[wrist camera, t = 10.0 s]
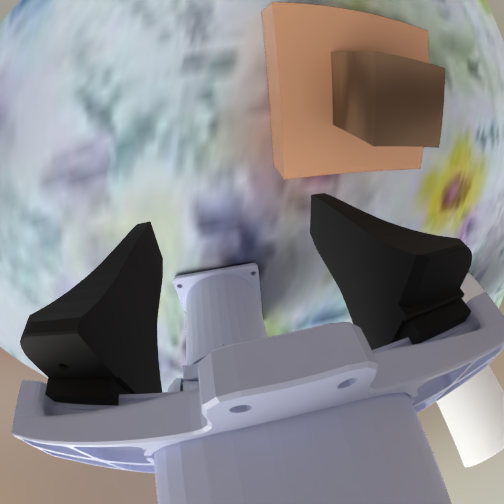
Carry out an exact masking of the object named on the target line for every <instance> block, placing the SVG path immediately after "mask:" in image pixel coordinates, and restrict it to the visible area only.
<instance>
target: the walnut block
mask: <svg viewBox="0 0 504 504" xmlns="http://www.w3.org/2000/svg"><path fill="white" fill-rule="evenodd" d="M331 69H332V98H333V125H334V126H336V127H338V128H340V129H342V130H344V131H346V132H348V133H350V134H352V135H354V136H356V137H357V138H359V139H361V140H363V141H365V142H367V143H368V144H370V145H372V146H374V147H377V146H408V147H438V148H439V143H440V136H441V127H442V117H443V105H444V85H445V68H443V67H440V66H436V65H433V64H429V63H426V62H422V61H418V60H415V59H411V58H406V57H402V56H397V55H393V54H388V53H382V52H377V51H348V52H331Z"/></svg>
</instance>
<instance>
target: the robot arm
mask: <svg viewBox="0 0 504 504" xmlns="http://www.w3.org/2000/svg"><path fill="white" fill-rule="evenodd" d="M310 234H311V236H312V239H313V241H314V244H315V246H316V248H317V250H318V252H319V254H320V256H321V257H322V259H323V261H324V262H325V264H326V266H327V268H328V269H329V271H330V273H331V274H332V276H333V278H334V280H335V281H336V283H337V285H338V287H339V289H340V291H341V293H342V295H343V298H344V300H345V303H346V305H347V308H348V310H349V313H350V316H351V318H352V321H353V324H352V323H350V322H340V323H329V324H325V325H321V326H317V327H312V328H308V329H304V330H300V331H295V332H291V333H286V334H281V335H277V336H272V337H268V336H267V332H266V328H265V325H264V321H263V314H262V303H261V292H260V281H259V271H258V266H257V264H256V263H249V264H243V265H238V266H232V267H226V268H220V269H215V270H209V271H203V272H197V273H191V274H185V275H179V276H175V277H174V279H173V283H174V286H175V288H176V291H177V294H178V296H179V299H180V301H181V304H182V306H183V309H184V312H185V314H186V356H187V365H186V366H183V377H184V380H183V378H176V379H175V380H174V381H173V383H172V384H171V385H170V387H169V389H168V392H165V393H162V387H161V380H160V371H159V361H158V345H157V317H158V309H159V300H160V293H161V285H162V277H163V258H162V255H161V252H160V249H159V246H158V243H157V240H156V237H155V234H154V231H153V228H152V225H151V222H146V223H141V224H137V225H136V226H135V227H134V228H133V229H132V230H131V231H130V232H129V233H128V234H127V236H126V237H125V238H124V239H123V240H122V241H121V242H120V243H119V245H118V246H117V247H116V248H115V249H114V250H113V251H112V252H111V253H110V254H109V255H108V256H107V257H106V259H105V260H104V261H103V262H102V263H101V264H100V265H99V266H98V267H97V268H96V269H95V270H94V271H92V272H91V273H90V274H89V275H88V276H87V277H86V278H85V279H83V280H82V281H81V282H80V283H78V284H77V285H76V286H75V287H73V288H72V289H71V290H70V291H68V292H67V293H66V294H64V295H63V296H61V297H60V298H58V299H57V300H55V301H54V302H52V303H51V304H49V305H47V306H46V307H44V308H42V309H40V310H39V311H37V312H35V313H33V314H32V315H30V316H29V318H28V321H27V324H26V326H25V329H24V332H23V334H22V337H21V340H20V344H21V347H22V349H23V351H24V353H25V355H26V356H27V357H28V358H29V359H30V360H31V361H32V362H33V363H34V364H35V365H36V366H37V367H38V368H39V369H40V370H41V371H42V372H43V373H44V374H46V375H47V376H48V377H49V378H48V383H47V384H46V383H43V382H40V381H31V380H22V382H21V386H20V390H19V395H18V399H17V405H16V409H15V415H14V421H13V427H12V434H13V436H15V437H17V438H19V439H21V440H22V441H24V442H26V443H28V444H30V445H32V446H34V447H35V448H38V449H40V450H42V451H44V452H46V453H48V454H50V455H52V456H56V457H60V458H64V459H68V460H73V461H77V462H82V463H87V464H92V465H97V466H103V467H108V468H114V469H121V470H128V471H137V472H147V473H155V478H156V489H157V499H158V504H451V502H450V498H449V495H448V492H447V489H446V486H445V484H444V481H443V478H442V475H441V472H440V470H439V467H438V464H437V462H436V459H435V456H434V454H433V451H432V449H431V446H430V444H429V441H428V439H427V437H426V434H425V432H424V430H423V427H422V425H421V422H420V420H419V418H418V416H417V413H418V412H420V411H421V410H423V409H425V408H427V407H428V406H430V405H432V404H433V403H435V402H436V401H438V400H440V399H441V398H443V397H444V396H446V395H447V394H449V393H450V392H452V391H453V390H455V389H456V388H458V387H459V386H461V385H462V384H463V383H465V382H466V381H468V380H469V379H471V378H472V377H473V376H475V375H476V374H478V373H479V372H480V371H482V370H483V369H484V368H486V367H487V366H488V365H489V364H490V363H491V361H492V360H493V359H494V358H495V357H496V356H497V355H498V354H499V353H500V351H501V350H502V349H503V348H504V315H503V314H502V313H501V311H500V310H499V309H498V307H497V306H496V305H495V303H494V302H493V301H492V299H491V298H490V297H489V296H488V294H487V293H486V292H483V293H481V294H479V295H477V296H475V297H473V298H471V299H470V300H469V301H468V302H467V303H465V302H464V301H463V299H462V298H463V297H464V292H463V291H462V290H461V289H460V287H461V285H462V283H463V281H464V279H465V277H466V275H467V273H468V271H469V268H470V266H471V261H472V253H471V251H470V249H469V248H468V247H467V246H466V245H465V244H464V243H463V242H462V241H461V240H460V239H457V238H450V237H443V236H436V235H432V234H427V233H422V232H418V231H414V230H411V229H407V228H404V227H401V226H398V225H395V224H392V223H389V222H387V221H384V220H381V219H379V218H376V217H374V216H372V215H370V214H368V213H365V212H363V211H361V210H359V209H357V208H355V207H353V206H351V205H349V204H347V203H345V202H343V201H341V200H339V199H337V198H334V197H332V196H330V195H327V194H324V193H322V194H314V195H311V224H310ZM253 271H255V272H254V273H251V272H253ZM178 284H181V285H178Z"/></svg>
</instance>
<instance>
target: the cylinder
mask: <svg viewBox="0 0 504 504" xmlns="http://www.w3.org/2000/svg"><path fill="white" fill-rule="evenodd" d="M460 289H461V290H462V291H463V292H464V297H463V298H462V299H463V301H464V302H465V303H467V302H468V301H469V300H470V299H471V298H473V297H475V296H477V295H479V294H481V293H483V292H485V291H484V289H483V288H482V287H481V286H480V284H479V283H478V282H477V281H476V280H475V279H474V277H473V276H472V275H471V274H470V273H467V275H466V277H465V279H464V281H463V283H462V285H461V287H460ZM503 349H504V348H503ZM503 349H502V350H503ZM502 350H501V351H502ZM501 351H500V352H501ZM498 355H499V354H498ZM498 355H497V356H498ZM497 356H496V357H497ZM496 357H495V358H496ZM493 360H494V359H493ZM493 360H492V361H493ZM492 361H491V362H492ZM436 402H437V404H438V406H439V408H440V410H441V412H442V414H443V417H444V419H445V421H446V423H447V426H448V428H449V430H450V433H451V435H452V437H453V439H454V442H455V444H456V447H457V449H458V452H459V454H460V457H461V459H462V462H463V465H464V467H471V466H474V465H476V464H478V463H481V462H483V461H485V460H486V459H488V458H490V457H491V456H493V455H495V454H497V453H498V452H499V451H501V450H502V449H504V392H503V390H502V388H501V386H500V384H499V382H498V380H497V379H496V377H495V375H494V373H493V372H492V370H491V368H490V366H489V365H488V366H487V367H486V368H484V369H483V370H482V371H480V372H479V373H478V374H476V375H475V376H473V377H472V378H471V379H469V380H468V381H466V382H465V383H463V384H462V385H461V386H459V387H458V388H456V389H455V390H453V391H452V392H450V393H449V394H447V395H446V396H444V397H443V398H441V399H440V400H438V401H436Z"/></svg>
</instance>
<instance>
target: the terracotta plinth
mask: <svg viewBox="0 0 504 504" xmlns="http://www.w3.org/2000/svg"><path fill="white" fill-rule="evenodd" d="M261 13H262V23H263V33H264V43H265V54H266V65H267V77H268V89H269V102H270V116H271V131H272V146H273V163H274V166H275V167H276V169H277V170H278V171H279V173H280V174H281V176H282V177H283V178H284V179H292V178H301V177H310V176H319V175H330V174H341V173H353V172H367V171H383V170H404V169H420V168H421V161H422V155H423V148H424V147H408V146H377V147H374V146H372V145H370V144H368V143H367V142H365V141H363V140H361V139H359V138H357V137H356V136H354V135H352V134H350V133H348V132H346V131H344V130H342V129H340V128H338V127H336V126H334V125H333V98H332V69H331V52H348V51H377V52H382V53H388V54H393V55H397V56H402V57H406V58H411V59H415V60H418V61H422V62H426V63H429V46H428V31H427V30H425V29H422V28H419V27H416V26H413V25H410V24H407V23H404V22H400V21H397V20H393V19H390V18H386V17H382V16H378V15H374V14H370V13H365V12H360V11H355V10H350V9H344V8H337V7H330V6H322V5H313V4H302V3H283V2H272V3H270V4H269V5H268V6H267V7H266V8H265V9H264V10H263V11H262V12H261Z"/></svg>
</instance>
